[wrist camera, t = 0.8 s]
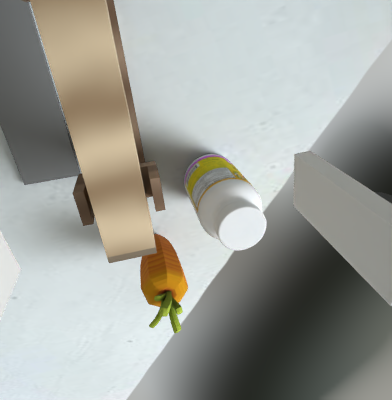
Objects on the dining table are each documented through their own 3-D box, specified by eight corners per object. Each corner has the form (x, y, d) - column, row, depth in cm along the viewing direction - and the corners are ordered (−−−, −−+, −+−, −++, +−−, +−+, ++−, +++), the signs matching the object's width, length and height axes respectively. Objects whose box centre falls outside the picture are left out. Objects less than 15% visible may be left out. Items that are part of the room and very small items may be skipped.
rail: (9, -125, 19) (-21, -170, 15) (79, -129, 19) (68, -172, 15) (110, 234, 30) (109, 263, 26) (152, 225, 31) (156, 252, 27)
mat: (-55, -20, 27) (-58, -21, 27) (19, -27, 28) (18, -28, 27) (25, 182, 36) (24, 184, 35) (80, 173, 37) (79, 175, 36)
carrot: (172, 250, 44) (194, 339, 31) (136, 251, 43) (142, 344, 30) (175, 219, 42) (200, 301, 29) (137, 219, 41) (145, 304, 28)
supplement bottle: (237, 192, 42) (279, 247, 31) (189, 206, 42) (215, 268, 31) (229, 145, 39) (273, 188, 28) (177, 160, 39) (200, 210, 27)
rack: (30, -57, 27) (-30, -121, 16) (111, -63, 28) (105, -128, 17) (98, 186, 38) (89, 245, 27) (155, 175, 39) (168, 229, 28)
